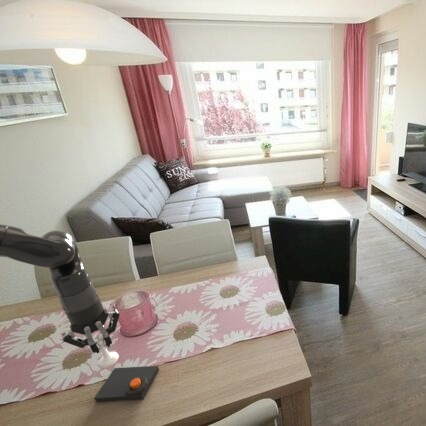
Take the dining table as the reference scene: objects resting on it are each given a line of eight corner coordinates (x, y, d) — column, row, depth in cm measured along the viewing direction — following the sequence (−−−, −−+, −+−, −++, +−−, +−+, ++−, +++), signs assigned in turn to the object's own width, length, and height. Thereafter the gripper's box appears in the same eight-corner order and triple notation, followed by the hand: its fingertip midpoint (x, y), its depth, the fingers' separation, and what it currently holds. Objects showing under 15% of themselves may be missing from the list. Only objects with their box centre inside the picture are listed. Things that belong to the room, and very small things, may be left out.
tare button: (138, 389, 87) (136, 385, 86) (129, 389, 87) (128, 386, 86) (143, 381, 89) (141, 377, 89) (134, 381, 89) (132, 378, 89)
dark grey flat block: (143, 400, 87) (140, 392, 85) (95, 403, 87) (91, 395, 85) (159, 369, 96) (157, 362, 95) (116, 371, 96) (112, 364, 95)
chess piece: (104, 354, 89) (93, 330, 85) (121, 352, 89) (110, 328, 85) (95, 368, 85) (82, 343, 80) (113, 366, 85) (101, 341, 81)
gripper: (107, 283, 85) (125, 328, 92) (45, 309, 76) (71, 356, 83) (114, 294, 80) (133, 341, 87) (49, 323, 71) (76, 372, 78)
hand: (103, 348), depth 85 cm, fingers closed on chess piece
